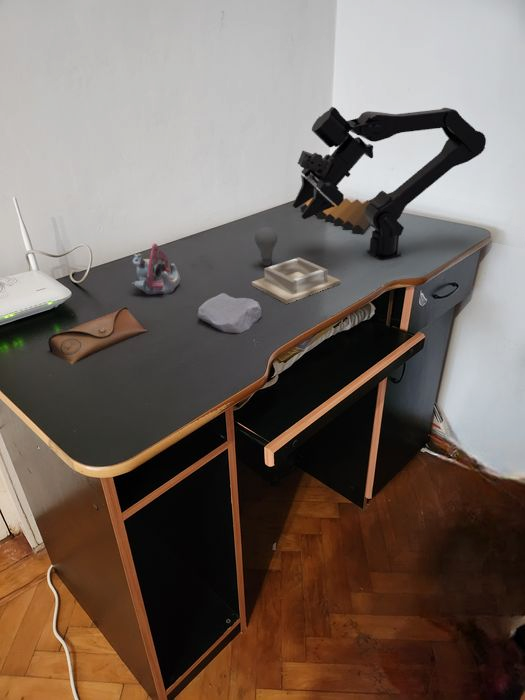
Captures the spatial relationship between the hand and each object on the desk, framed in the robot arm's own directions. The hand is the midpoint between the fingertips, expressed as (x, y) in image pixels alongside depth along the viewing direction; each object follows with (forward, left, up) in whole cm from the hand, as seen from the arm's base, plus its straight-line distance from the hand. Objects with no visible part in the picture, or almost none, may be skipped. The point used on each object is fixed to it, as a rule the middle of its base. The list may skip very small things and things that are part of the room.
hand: (298, 212), depth 129 cm
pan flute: (-27, -27, -14) cm, 41 cm away
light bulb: (+8, -2, -13) cm, 16 cm away
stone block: (+27, +20, -14) cm, 37 cm away
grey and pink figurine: (+36, -3, -13) cm, 39 cm away
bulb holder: (+7, +12, -13) cm, 19 cm away
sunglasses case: (+53, +16, -14) cm, 57 cm away
